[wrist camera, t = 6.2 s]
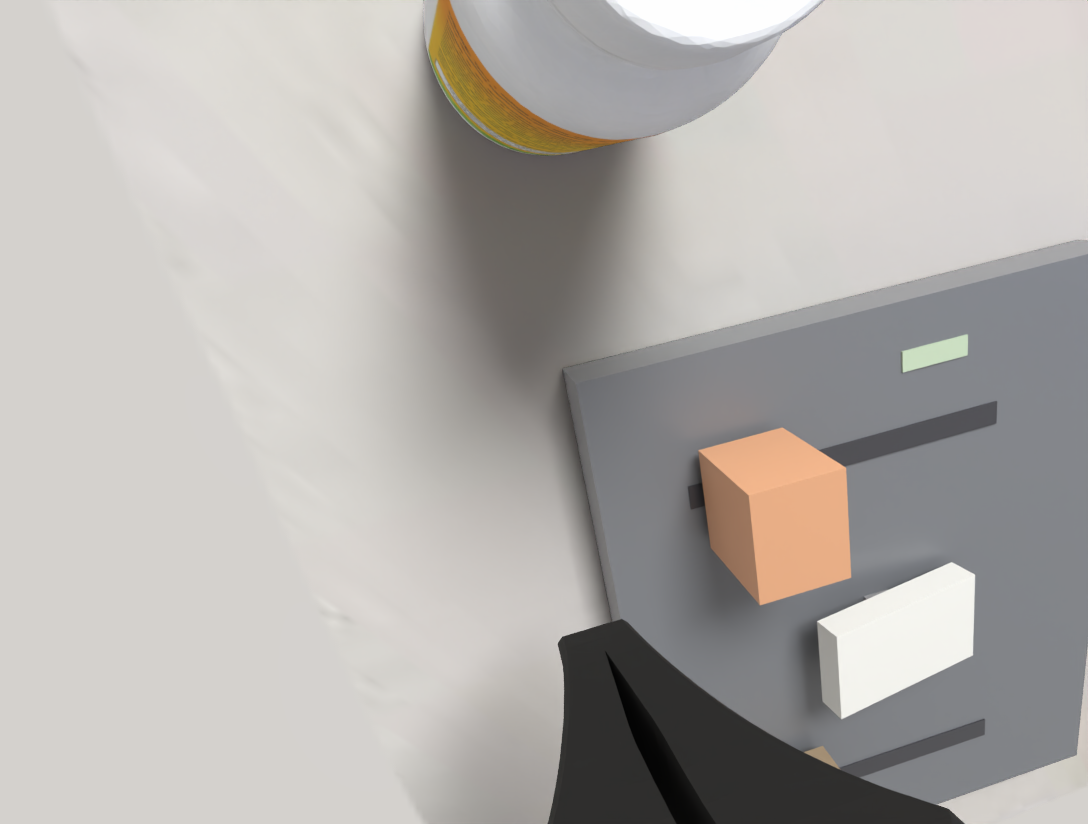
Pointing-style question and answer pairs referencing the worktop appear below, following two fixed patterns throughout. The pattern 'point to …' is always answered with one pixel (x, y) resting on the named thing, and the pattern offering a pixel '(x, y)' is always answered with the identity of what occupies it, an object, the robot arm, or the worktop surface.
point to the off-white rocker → (896, 638)
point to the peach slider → (777, 514)
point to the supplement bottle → (596, 64)
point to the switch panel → (872, 508)
